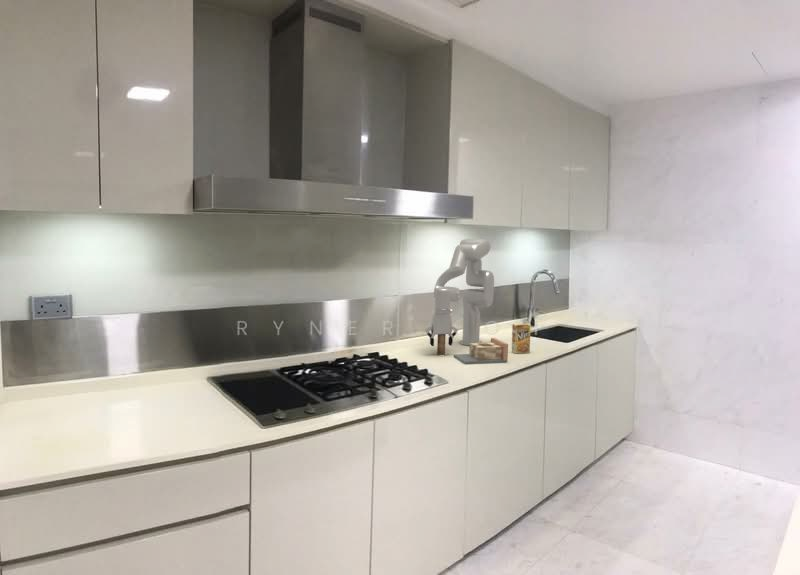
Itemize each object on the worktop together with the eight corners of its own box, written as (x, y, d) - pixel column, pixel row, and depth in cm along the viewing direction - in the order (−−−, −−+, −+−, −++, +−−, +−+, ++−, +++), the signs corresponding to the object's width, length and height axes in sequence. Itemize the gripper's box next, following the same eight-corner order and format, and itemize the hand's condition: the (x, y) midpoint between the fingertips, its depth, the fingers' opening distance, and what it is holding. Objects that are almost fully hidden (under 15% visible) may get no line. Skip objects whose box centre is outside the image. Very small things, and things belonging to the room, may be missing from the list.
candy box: (515, 353, 265) (516, 325, 264) (511, 352, 269) (512, 323, 268) (529, 353, 268) (531, 324, 266) (525, 351, 272) (526, 323, 270)
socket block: (469, 354, 255) (469, 343, 255) (491, 353, 258) (491, 342, 257) (478, 360, 244) (478, 347, 243) (501, 359, 246) (501, 347, 246)
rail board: (453, 356, 255) (454, 338, 255) (493, 355, 261) (494, 337, 260) (464, 364, 240) (465, 345, 239) (507, 362, 245) (508, 343, 244)
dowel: (436, 354, 261) (436, 331, 260) (443, 353, 262) (444, 331, 260) (438, 355, 257) (439, 332, 256) (446, 355, 258) (446, 332, 257)
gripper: (455, 311, 263) (454, 343, 264) (423, 311, 259) (422, 344, 260) (460, 313, 256) (459, 346, 257) (428, 313, 251) (427, 347, 253)
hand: (441, 345), depth 259 cm, fingers open, 9 cm apart
